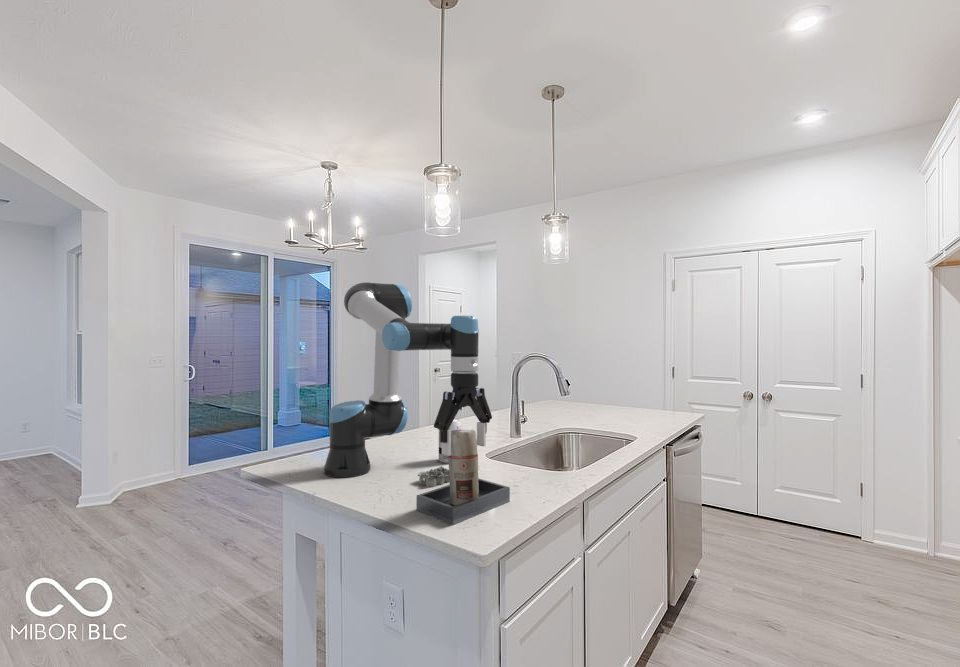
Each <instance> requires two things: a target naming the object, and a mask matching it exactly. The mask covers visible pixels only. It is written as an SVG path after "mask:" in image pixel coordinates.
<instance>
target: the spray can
mask: <svg viewBox="0 0 960 667" xmlns="http://www.w3.org/2000/svg"><path fill="white" fill-rule="evenodd" d="M448 470H449V482H448V484H449V485H450V499H451V501H450V503H451V504H453V505H455V506H456V505H459V504H462V503H464V502H467V501H470V500H472V499H475V498H478V497H479V496H478V494H479V483H478V478H479V453H478V445H477V430H476V429H474V428H473V429H461V430H451V455H450V456H449V463H448Z"/></svg>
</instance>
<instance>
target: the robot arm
mask: <svg viewBox="0 0 960 667" xmlns="http://www.w3.org/2000/svg"><path fill="white" fill-rule="evenodd" d="M343 305H344V308H345V310H346V312H347V313H348V314H349V315H350V316H351V317H353V318H354V319H357V320H362V321H363V322H364V323H365V324H367V325H368V326H370V328H372V329H373V330H375V338H374V339H375V343H374V344H375V345H374V366H373V367H374V370H373V372H374V374H373V393H371V395H370V396H369V397H368V403H367V404H366V402H365V401H364V400H349V401H344V402H339V403H337V404H334V406H332V407H331V409H330V411H329V412H330V414H329V419H328V420H329V452H328V454H327V456H326V460H325V463H324V466H323V467H324V468H323V469H324V470H323V474H325V475H326V476H327V477H333V478H352V477H357V476H362V475H365V474H367V473H368V472H370V470H371V461H370V458H369V455H368V452H367V448H366V439H368V438H376V437H383V436H392V435H394V434H395V435H396V434H399V433H402V431H403V430H404V429H405V427H406V426H407V422H408V417H409V416H408V415H409V413H408V406H407V404H406V403H405V402H404V401H403V398H402V396H401V395H400V393H399V372H400V352H401V351H402V352H403V351H433V350H434V351H435V350H436V351H437V350H440V351H441V350H443V351H444V350H445V351H447V350H450V371H451V374H450V386H451V387H452V391H444V392H443V394H442V400H441V401H442V402H441V403H440V407H439V410H438V412H437V416H436V418H435V421H434V423H433V428H435V429H437V430H439V429H440V441H441V442H442V454H444V455H448V456H450V455H451V430H448V429H449V427H450V425H451V424H452V422H453V420H454V419H456V416H457V414H458V412H459V411H460V410H461V409H462V408H466V407H470V409H471V410H472V412H473V414H474V415H475V417H476V418H477V419H478V421H476V439H477V446H479V447H486V445H487V443H486V442H487V441H486V438H487V430H488V429H487V426H488V424H489V423H490V422H491V420H492V418H493V416H492V412H491V410H490V407H489V404H488V401H487V398H486V394H485V388H483V387H478V386H479V374H478V371H479V334H480V333H479V332H480V329H479V319H478V317H477V316H475V315H454V316H452V317H451V318H450V323H433V322H432V323H429V322H428V323H427V322H426V323H425V322H422V323H421V322H419V323H418V322H410V321H407V320H406V319H407V318H409V317H410V315H411V313H412V311H413V300H412V296H411V293H410V292H409V289H408V288H406V287H405V286H404V285H399V284H395V283H381V282H380V283H376V282H366V281H365V282H360V283H356V284H354V285H352V286H351V287H349V289H348V290H347V291H346V292H345V294H344V298H343ZM439 423H440V424H439Z"/></svg>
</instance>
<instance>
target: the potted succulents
mask: <svg viewBox="0 0 960 667" xmlns="http://www.w3.org/2000/svg"><path fill="white" fill-rule="evenodd" d="M417 477H418V478H419V481H418V482H419V485H425V486H426V487H427V488H434V487H436V486H437V485H443V484H445V483H449V468H445V467H444V466H439V467H437V468H434V469H432V468H431V469H429V470H426V471H419V472H418V473H417Z"/></svg>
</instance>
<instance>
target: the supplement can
mask: <svg viewBox="0 0 960 667" xmlns="http://www.w3.org/2000/svg"><path fill="white" fill-rule="evenodd" d="M439 424H440V423H439ZM448 430H462V424H461V422H460V419H457V418H454V420H453V422H452V424H451V425H450V427H449V429H448ZM438 460H439V461H440V462H441V463H443V464H449V456H448V455H444V454H442V442H441V441H440V429H438Z"/></svg>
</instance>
